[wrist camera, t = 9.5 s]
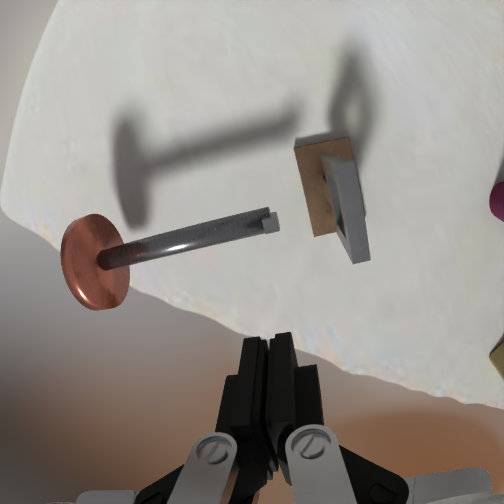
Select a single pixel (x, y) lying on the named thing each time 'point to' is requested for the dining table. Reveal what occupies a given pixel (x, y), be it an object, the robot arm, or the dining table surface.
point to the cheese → (498, 359)
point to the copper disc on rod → (140, 251)
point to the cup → (497, 201)
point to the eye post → (334, 194)
